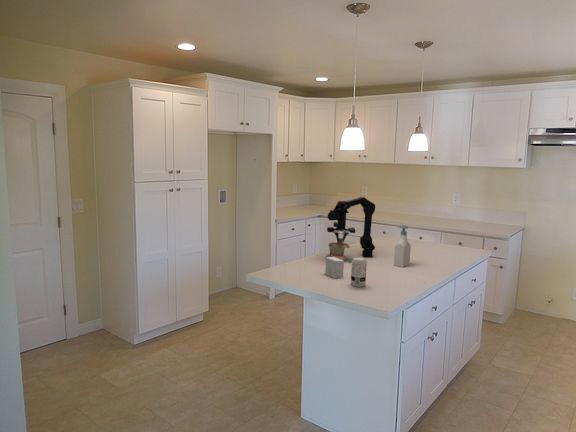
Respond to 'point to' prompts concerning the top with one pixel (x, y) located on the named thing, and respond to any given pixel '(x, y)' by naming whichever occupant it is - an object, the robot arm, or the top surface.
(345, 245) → the walnut lid
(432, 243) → the top surface
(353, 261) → the supplement can
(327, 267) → the skincare box
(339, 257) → the terracotta bowl
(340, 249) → the food container
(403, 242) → the soap bottle
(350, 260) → the rubber mat
